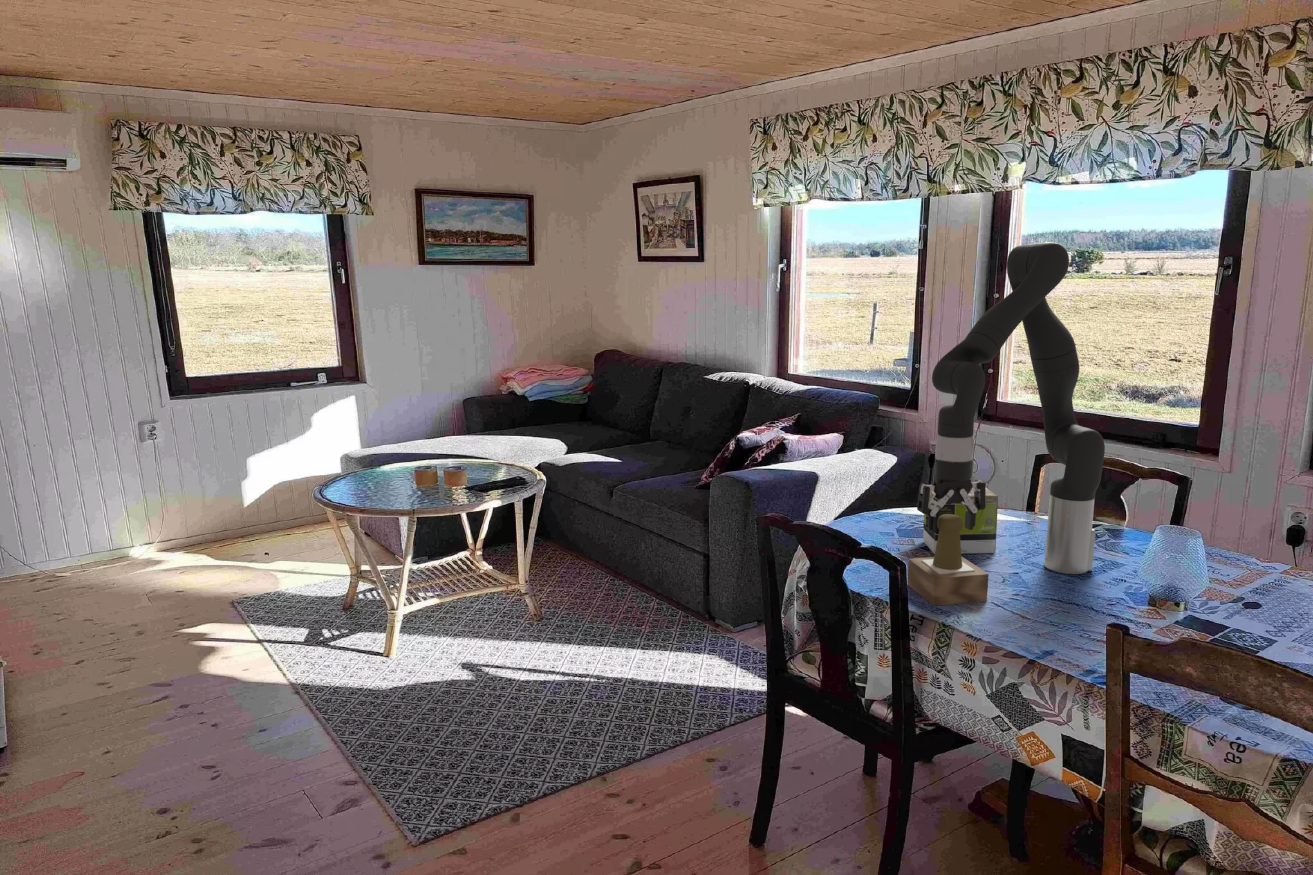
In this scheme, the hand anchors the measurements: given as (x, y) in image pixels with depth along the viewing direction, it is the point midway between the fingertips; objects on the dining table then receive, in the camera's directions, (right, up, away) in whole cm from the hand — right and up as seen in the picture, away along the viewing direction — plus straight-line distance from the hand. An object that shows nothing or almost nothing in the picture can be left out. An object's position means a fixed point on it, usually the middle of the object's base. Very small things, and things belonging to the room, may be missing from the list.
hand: (950, 530), depth 185 cm
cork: (0, -8, +2) cm, 8 cm away
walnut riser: (0, -14, +3) cm, 14 cm away
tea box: (+12, -8, +31) cm, 34 cm away
